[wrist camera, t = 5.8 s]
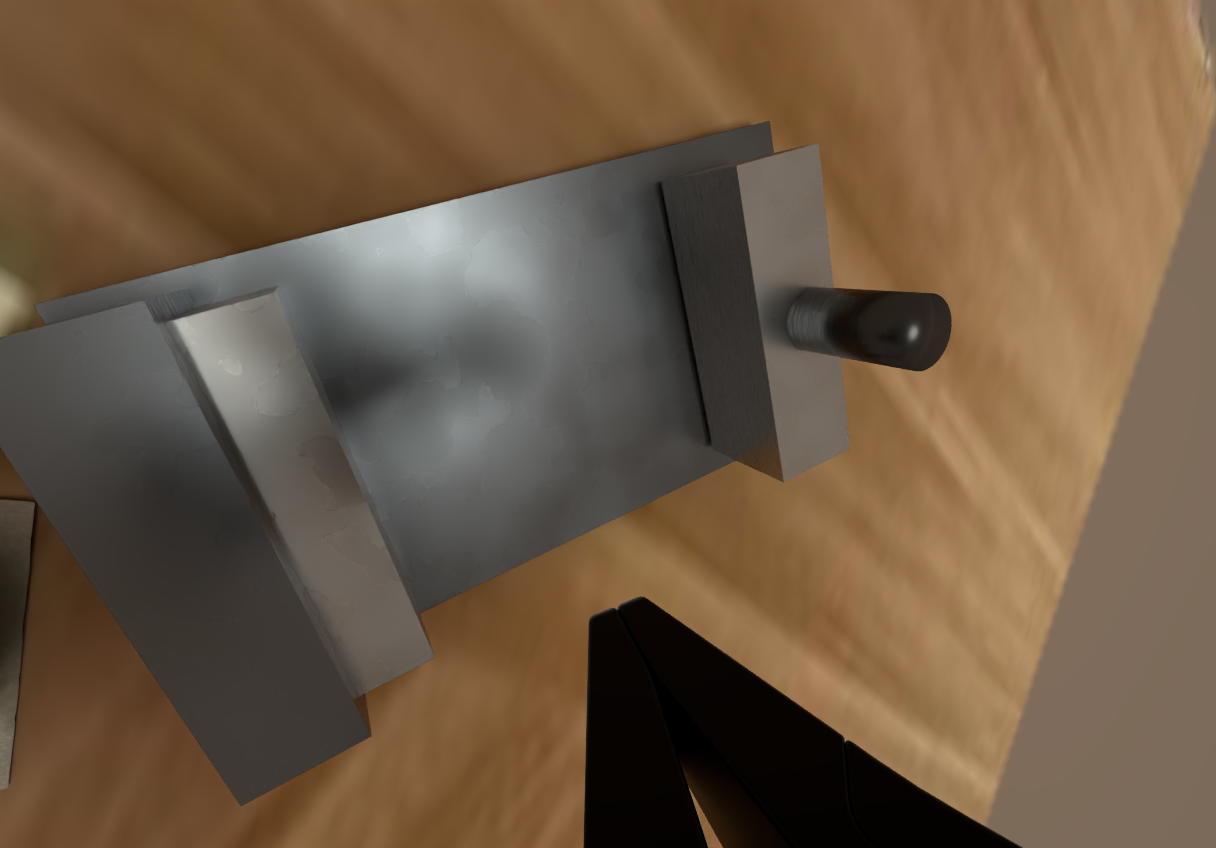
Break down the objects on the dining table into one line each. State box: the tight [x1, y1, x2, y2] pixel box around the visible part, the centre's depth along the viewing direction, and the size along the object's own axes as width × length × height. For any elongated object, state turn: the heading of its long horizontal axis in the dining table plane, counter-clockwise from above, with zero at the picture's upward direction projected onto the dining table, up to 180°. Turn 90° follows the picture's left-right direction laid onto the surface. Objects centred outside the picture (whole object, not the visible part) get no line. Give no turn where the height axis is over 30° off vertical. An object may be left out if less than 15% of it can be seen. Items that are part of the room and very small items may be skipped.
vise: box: [0, 121, 774, 806], centre depth 18 cm, size 22×12×6 cm, turn 105°
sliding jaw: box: [661, 143, 951, 482], centre depth 19 cm, size 3×10×8 cm, turn 15°
